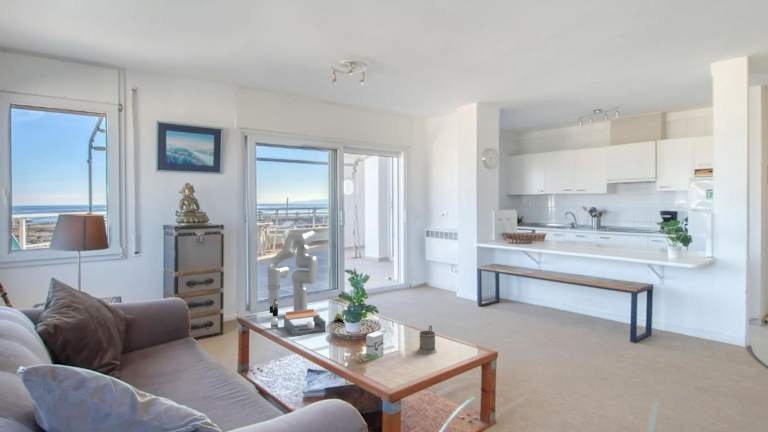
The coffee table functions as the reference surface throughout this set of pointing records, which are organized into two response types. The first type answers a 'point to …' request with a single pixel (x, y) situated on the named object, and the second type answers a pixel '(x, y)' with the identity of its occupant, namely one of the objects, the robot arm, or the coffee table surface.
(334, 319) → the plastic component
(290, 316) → the lid
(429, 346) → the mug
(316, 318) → the housing
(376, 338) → the ink box
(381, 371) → the coffee table surface
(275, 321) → the peg
